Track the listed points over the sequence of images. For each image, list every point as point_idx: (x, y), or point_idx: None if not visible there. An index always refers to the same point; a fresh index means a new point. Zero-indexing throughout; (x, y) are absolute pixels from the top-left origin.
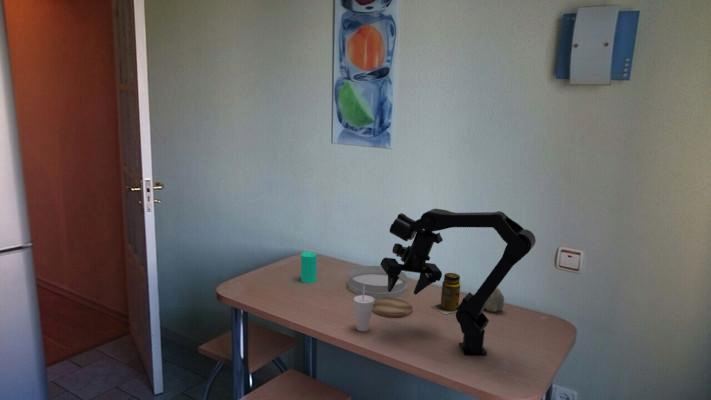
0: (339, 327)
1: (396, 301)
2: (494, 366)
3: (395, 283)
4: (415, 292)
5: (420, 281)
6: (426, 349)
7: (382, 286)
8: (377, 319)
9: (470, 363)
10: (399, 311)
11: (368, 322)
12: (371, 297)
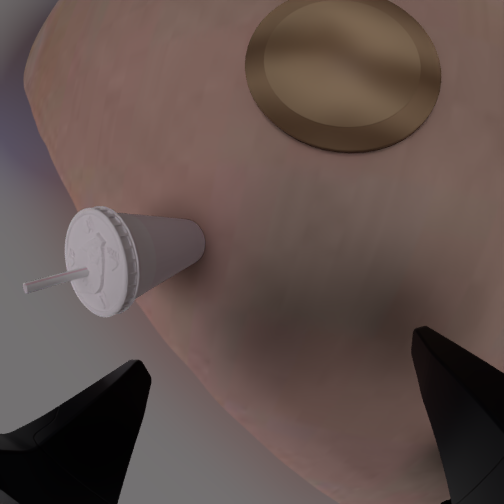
0: None
1: (372, 16)
2: None
3: (119, 489)
4: (417, 364)
5: (479, 457)
6: (358, 425)
7: None
8: (255, 162)
9: (424, 483)
10: (369, 115)
11: (179, 271)
12: (117, 247)
